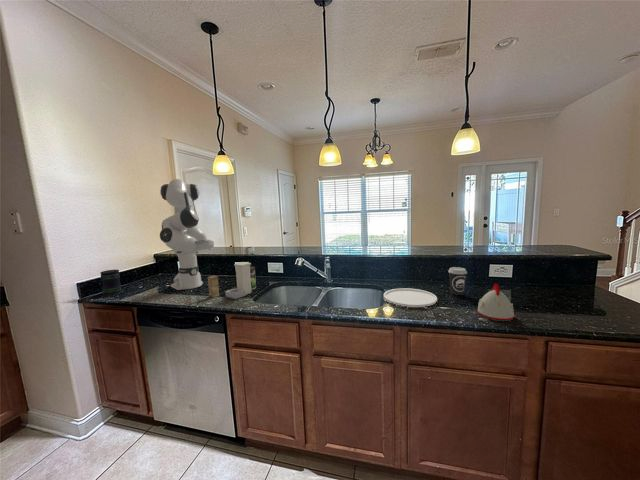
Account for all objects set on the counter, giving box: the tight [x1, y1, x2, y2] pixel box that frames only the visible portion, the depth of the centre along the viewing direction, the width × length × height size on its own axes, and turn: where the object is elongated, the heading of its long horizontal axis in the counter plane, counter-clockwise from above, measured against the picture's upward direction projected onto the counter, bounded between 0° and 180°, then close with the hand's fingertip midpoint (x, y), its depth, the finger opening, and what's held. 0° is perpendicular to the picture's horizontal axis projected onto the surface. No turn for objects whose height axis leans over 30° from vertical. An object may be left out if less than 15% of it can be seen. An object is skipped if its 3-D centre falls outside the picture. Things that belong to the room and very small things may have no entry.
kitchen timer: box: [477, 283, 515, 320], centre depth 120 cm, size 14×14×15 cm
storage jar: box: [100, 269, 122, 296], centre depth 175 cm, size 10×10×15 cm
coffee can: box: [250, 265, 257, 291], centre depth 176 cm, size 10×10×14 cm
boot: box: [225, 261, 252, 300], centre depth 162 cm, size 9×14×19 cm, turn 147°
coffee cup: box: [448, 266, 468, 295], centre depth 151 cm, size 10×10×15 cm
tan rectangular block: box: [207, 275, 220, 298], centre depth 162 cm, size 4×4×12 cm
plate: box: [383, 287, 438, 307], centre depth 146 cm, size 28×28×2 cm
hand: (204, 250), depth 156 cm, fingers open, 8 cm apart
